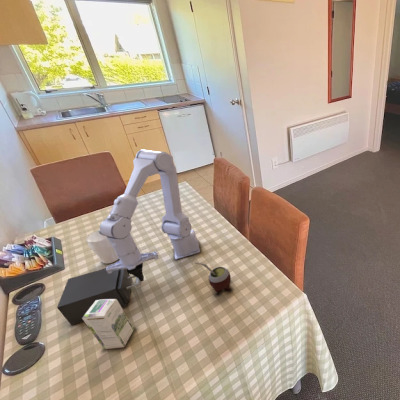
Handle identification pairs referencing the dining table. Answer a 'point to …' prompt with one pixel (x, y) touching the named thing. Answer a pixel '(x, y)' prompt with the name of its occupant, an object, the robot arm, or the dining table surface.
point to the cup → (101, 247)
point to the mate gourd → (218, 278)
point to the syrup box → (108, 323)
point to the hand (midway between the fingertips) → (142, 279)
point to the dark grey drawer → (126, 284)
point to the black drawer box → (88, 293)
